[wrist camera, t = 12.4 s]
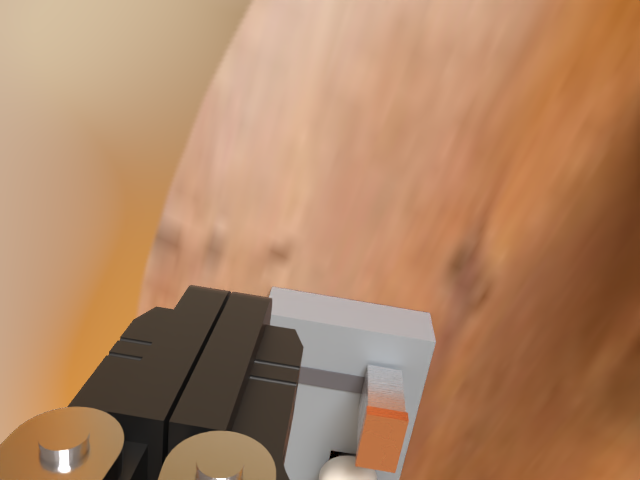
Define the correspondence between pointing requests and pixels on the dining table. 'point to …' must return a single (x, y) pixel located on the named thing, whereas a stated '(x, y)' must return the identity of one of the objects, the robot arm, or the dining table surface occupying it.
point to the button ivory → (345, 469)
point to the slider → (381, 419)
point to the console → (346, 370)
